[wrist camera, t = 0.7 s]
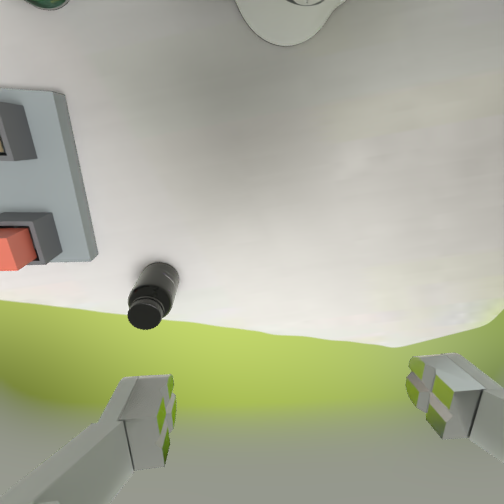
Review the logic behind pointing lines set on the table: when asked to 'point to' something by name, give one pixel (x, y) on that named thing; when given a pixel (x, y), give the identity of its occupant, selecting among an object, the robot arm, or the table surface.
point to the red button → (15, 248)
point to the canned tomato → (48, 4)
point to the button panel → (43, 177)
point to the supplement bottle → (152, 295)
